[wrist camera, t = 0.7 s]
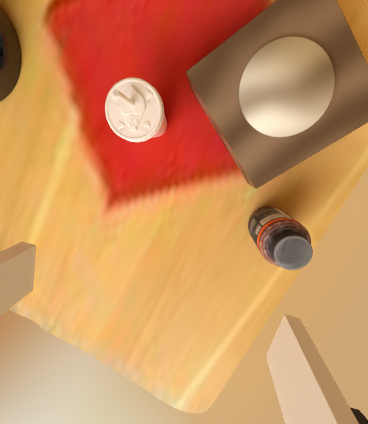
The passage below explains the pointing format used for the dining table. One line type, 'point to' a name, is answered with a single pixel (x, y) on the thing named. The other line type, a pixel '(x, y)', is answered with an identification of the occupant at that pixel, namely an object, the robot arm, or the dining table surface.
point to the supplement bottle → (280, 238)
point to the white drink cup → (135, 110)
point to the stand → (284, 86)
